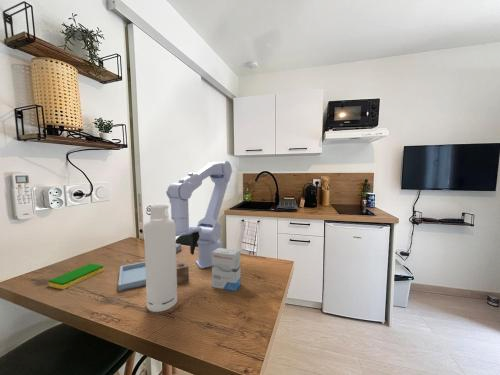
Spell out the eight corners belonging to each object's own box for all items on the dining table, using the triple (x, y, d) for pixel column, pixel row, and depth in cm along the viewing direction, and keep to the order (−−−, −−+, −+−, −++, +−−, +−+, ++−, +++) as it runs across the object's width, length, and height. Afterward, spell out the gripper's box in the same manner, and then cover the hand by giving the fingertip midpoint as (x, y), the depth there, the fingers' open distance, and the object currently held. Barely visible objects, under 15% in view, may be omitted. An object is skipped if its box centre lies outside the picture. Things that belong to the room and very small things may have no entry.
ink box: (241, 284, 70) (241, 249, 69) (235, 291, 65) (235, 255, 64) (218, 280, 72) (218, 246, 72) (211, 287, 68) (210, 252, 67)
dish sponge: (104, 271, 80) (104, 265, 80) (63, 290, 67) (62, 283, 67) (90, 269, 82) (90, 263, 82) (48, 287, 69) (47, 280, 69)
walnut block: (186, 275, 76) (185, 261, 76) (188, 280, 72) (188, 266, 72) (174, 278, 74) (174, 264, 74) (176, 283, 70) (176, 268, 70)
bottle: (153, 295, 63) (150, 204, 62) (180, 293, 64) (178, 203, 62) (141, 312, 55) (137, 208, 54) (172, 310, 56) (169, 208, 54)
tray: (160, 263, 86) (160, 258, 86) (165, 280, 72) (165, 274, 72) (120, 271, 79) (120, 266, 79) (118, 291, 65) (118, 285, 65)
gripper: (158, 222, 65) (160, 264, 66) (204, 217, 72) (204, 255, 73) (156, 218, 71) (157, 256, 72) (198, 213, 78) (199, 249, 79)
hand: (181, 255), depth 73 cm, fingers open, 7 cm apart
